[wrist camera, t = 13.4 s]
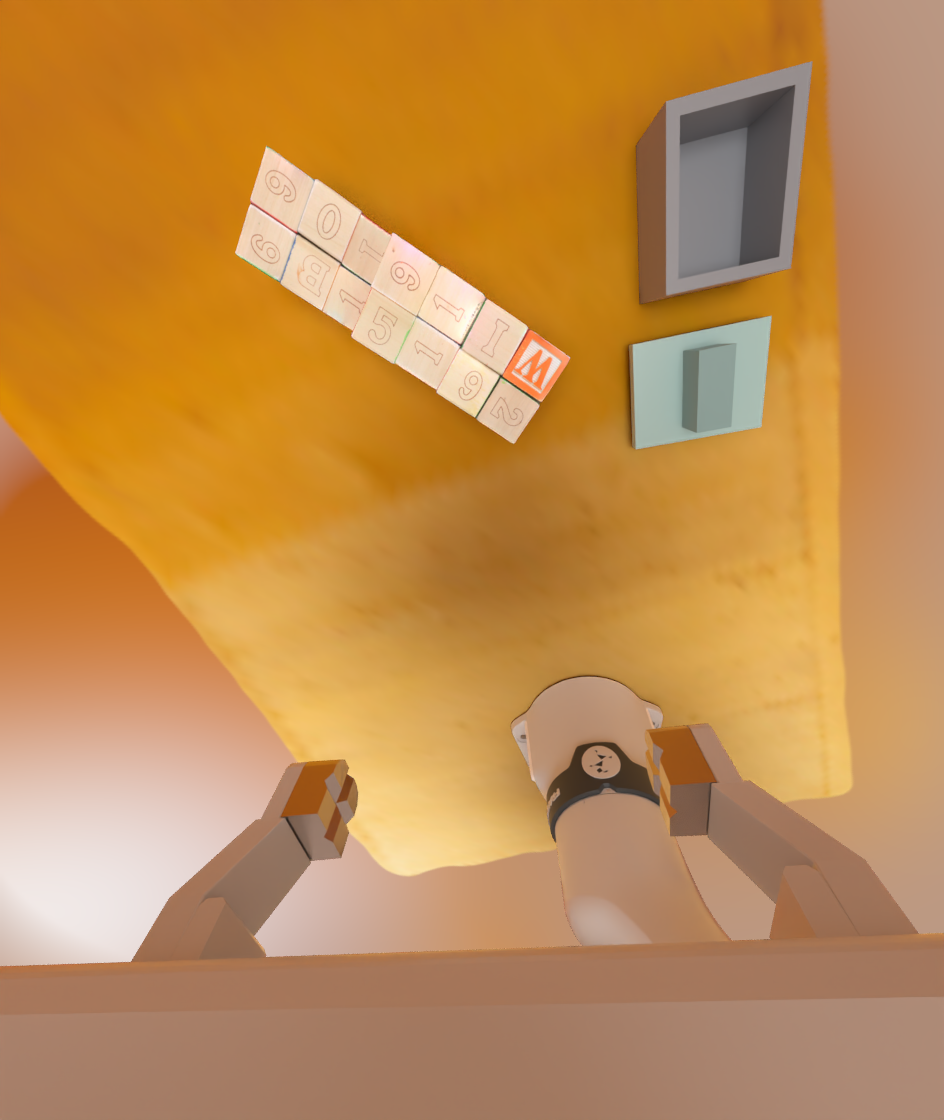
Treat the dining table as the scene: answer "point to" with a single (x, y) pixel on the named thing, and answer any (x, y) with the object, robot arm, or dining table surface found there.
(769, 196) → the storage box
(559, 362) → the stack of blocks
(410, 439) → the dining table surface
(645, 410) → the lid
